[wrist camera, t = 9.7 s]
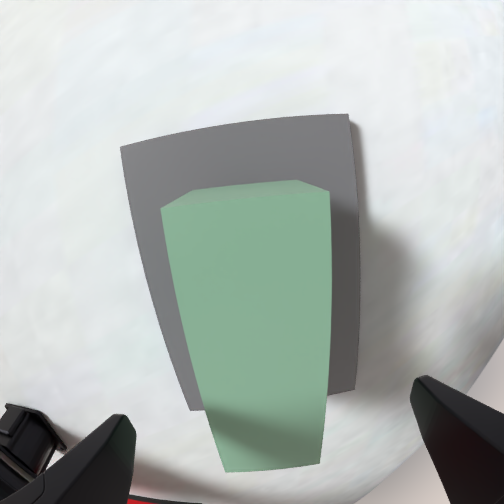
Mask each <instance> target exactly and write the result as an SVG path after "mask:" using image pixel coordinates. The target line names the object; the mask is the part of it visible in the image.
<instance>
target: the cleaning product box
mask: <svg viewBox="0 0 504 504" xmlns="http://www.w3.org/2000/svg"><path fill="white" fill-rule="evenodd" d="M127 504H202V503H188V502H177V501H168V500H160V499H153V498H147V497H141V496H135V495H130V494H129V497H128V502H127Z"/></svg>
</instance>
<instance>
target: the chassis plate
mask: <svg viewBox="0 0 504 504" xmlns="http://www.w3.org/2000/svg"><path fill="white" fill-rule="evenodd" d="M120 151H121V158H122V164H123V171H124V177H125V183H126V189H127V194H128V200H129V205H130V210H131V215H132V220H133V225H134V229H135V234H136V238H137V243H138V247H139V251H140V256H141V260H142V264H143V268H144V272H145V276H146V279H147V283H148V287H149V290H150V294H151V298H152V301H153V305H154V308H155V312H156V315H157V318H158V322H159V325H160V328H161V331H162V334H163V337H164V341H165V344H166V347H167V350H168V353H169V356H170V358H171V361H172V364H173V367H174V370H175V373H176V375H177V378H178V381H179V384H180V386H181V389H182V392H183V394H184V397H185V399H186V402H187V404H188V407H189V409H190V411H199V410H205V408H204V405H203V402H202V398H201V395H200V391H199V388H198V384H197V380H196V377H195V373H194V369H193V365H192V362H191V358H190V354H189V350H188V346H187V342H186V338H185V333H184V329H183V325H182V321H181V316H180V312H179V307H178V303H177V298H176V293H175V288H174V283H173V278H172V273H171V268H170V263H169V257H168V252H167V246H166V240H165V234H164V228H163V222H162V215H161V209H160V208H162V207H164V206H166V205H167V204H169V203H171V202H173V201H174V200H176V199H178V198H179V197H181V196H183V195H185V194H187V193H188V192H190V191H192V190H198V189H206V188H214V187H223V186H232V185H241V184H252V183H262V182H274V181H286V180H299V181H302V182H305V183H308V184H310V185H313V186H316V187H319V188H321V189H324V190H327V191H329V193H330V214H331V249H332V303H331V337H330V358H329V375H328V389H327V395H332V394H337V393H341V392H346V391H350V390H355V381H356V370H357V357H358V341H359V320H360V237H359V215H358V199H357V186H356V174H355V164H354V155H353V146H352V138H351V130H350V123H349V116H348V114H326V115H308V116H294V117H283V118H273V119H263V120H255V121H247V122H239V123H232V124H226V125H219V126H213V127H207V128H202V129H196V130H191V131H186V132H181V133H176V134H171V135H166V136H162V137H157V138H153V139H149V140H145V141H141V142H137V143H133V144H129V145H125V146H122V147H120Z"/></svg>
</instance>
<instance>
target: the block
mask: <svg viewBox="0 0 504 504" xmlns="http://www.w3.org/2000/svg"><path fill="white" fill-rule="evenodd" d="M160 209H161V215H162V222H163V228H164V234H165V240H166V246H167V252H168V257H169V263H170V268H171V273H172V278H173V283H174V288H175V293H176V298H177V303H178V307H179V312H180V316H181V321H182V325H183V329H184V333H185V338H186V342H187V346H188V350H189V354H190V358H191V362H192V365H193V369H194V373H195V377H196V380H197V384H198V388H199V391H200V395H201V398H202V402H203V405H204V408H205V412H206V415H207V418H208V421H209V425H210V428H211V431H212V434H213V437H214V440H215V443H216V446H217V449H218V452H219V455H220V458H221V461H222V464H223V467H224V470H225V472H250V471H265V470H276V469H285V468H293V467H301V466H308V465H314V464H320V456H321V449H322V440H323V432H324V422H325V412H326V401H327V389H328V375H329V358H330V337H331V303H332V249H331V214H330V193H329V191H327V190H324V189H321V188H319V187H316V186H313V185H310V184H308V183H305V182H302V181H299V180H286V181H274V182H262V183H252V184H241V185H232V186H223V187H214V188H206V189H198V190H192V191H190V192H188V193H187V194H185V195H183V196H181V197H179V198H178V199H176V200H174V201H173V202H171V203H169V204H167V205H166V206H164V207H162V208H160Z"/></svg>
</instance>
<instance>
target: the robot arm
mask: <svg viewBox="0 0 504 504" xmlns="http://www.w3.org/2000/svg"><path fill="white" fill-rule="evenodd" d="M410 403H411V406H412V408H413V411H414V414H415V417H416V420H417V423H418V426H419V429H420V432H421V435H422V438H423V441H424V443H425V445H426V448H427V450H428V452H429V454H430V456H431V459H432V461H433V463H434V465H435V468H436V470H437V472H438V474H439V477H440V479H441V482H442V484H443V486H444V489H445V491H446V494H447V496H448V499H449V501H450V504H504V414H503V413H501V412H499V411H497V410H495V409H492V408H491V407H489V406H487V405H485V404H483V403H481V402H479V401H477V400H475V399H473V398H471V397H469V396H467V395H465V394H463V393H461V392H459V391H457V390H455V389H453V388H451V387H449V386H447V385H445V384H444V383H442V382H440V381H438V380H436V379H434V378H432V377H430V376H428V375H424V376H421V377H418V378H416V379H415V380H414V383H413V387H412V391H411V394H410ZM5 408H6V409H7V411H6V412H5V414H4V415H3V416H2V418H1V419H0V504H127V502H128V497H129V492H130V486H131V481H132V476H133V468H134V456H135V446H136V431H135V429H134V427H133V425H132V424H131V422H130V420H129V419H128V417H127V416H126V415H124V414H113V415H112V416H111V417H109V418H108V419H107V420H106V421H105V422H104V423H102V424H101V425H100V426H99V427H98V428H96V429H95V430H94V431H93V432H92V433H91V434H89V435H88V436H87V437H86V438H85V439H83V440H82V441H81V442H80V443H79V444H77V445H76V446H75V447H74V448H73V449H71V450H70V451H69V452H68V453H67V454H65V455H64V456H63V457H62V458H60V459H59V460H58V461H57V462H56V463H54V464H53V465H52V466H51V467H49V468H48V469H47V470H46V468H47V466H48V464H49V462H50V460H51V458H52V456H53V454H54V452H55V450H56V449H57V450H61V451H66V449H67V448H66V446H65V445H64V444H63V443H62V441H61V440H60V439H59V437H58V436H57V435H56V434H55V432H54V431H53V430H52V428H51V427H50V425H49V424H48V423H47V421H46V420H45V418H44V417H43V416H42V414H41V413H40V412H38V411H36V410H31V409H27V408H23V407H19V406H15V405H11V404H8V403H6V405H5ZM45 470H46V471H45Z"/></svg>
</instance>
